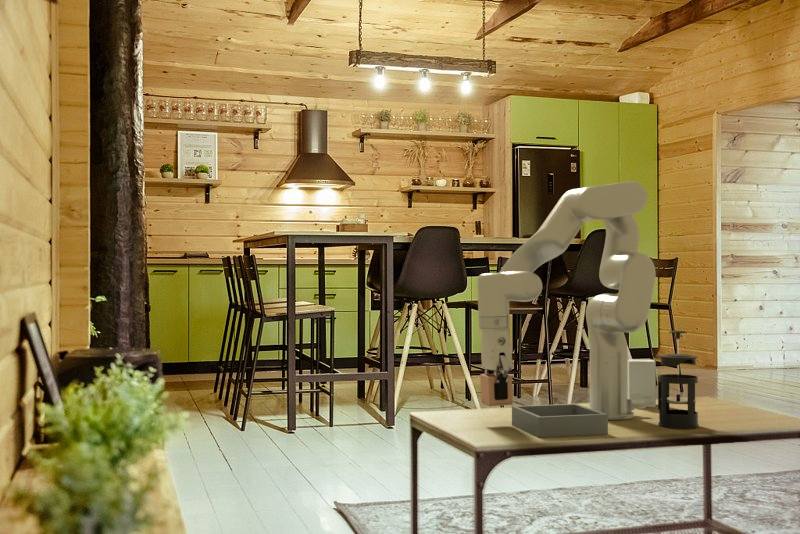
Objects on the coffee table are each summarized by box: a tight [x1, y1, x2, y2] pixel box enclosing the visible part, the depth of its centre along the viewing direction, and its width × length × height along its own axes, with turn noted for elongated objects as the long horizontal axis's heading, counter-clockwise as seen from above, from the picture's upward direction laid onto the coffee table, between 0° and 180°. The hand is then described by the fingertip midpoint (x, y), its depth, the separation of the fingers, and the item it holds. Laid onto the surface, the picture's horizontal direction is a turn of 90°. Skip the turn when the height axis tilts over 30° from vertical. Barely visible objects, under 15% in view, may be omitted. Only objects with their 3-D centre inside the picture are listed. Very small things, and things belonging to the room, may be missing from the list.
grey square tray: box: [511, 403, 609, 438], centre depth 210 cm, size 17×17×4 cm
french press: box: [657, 330, 700, 430], centre depth 215 cm, size 12×9×23 cm
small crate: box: [479, 373, 514, 407], centre depth 216 cm, size 6×6×7 cm
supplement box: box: [628, 358, 657, 408], centre depth 248 cm, size 7×7×13 cm
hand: (496, 396), depth 216 cm, fingers closed on small crate, 6 cm apart
